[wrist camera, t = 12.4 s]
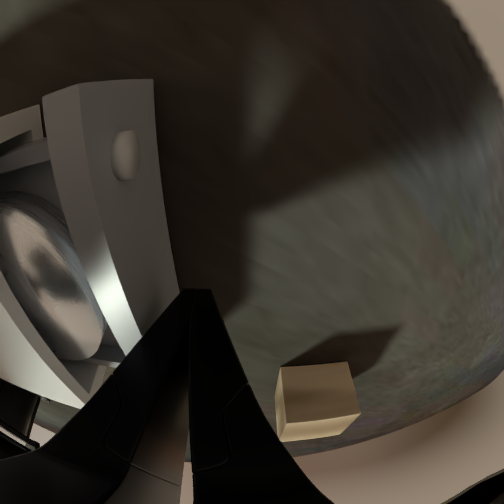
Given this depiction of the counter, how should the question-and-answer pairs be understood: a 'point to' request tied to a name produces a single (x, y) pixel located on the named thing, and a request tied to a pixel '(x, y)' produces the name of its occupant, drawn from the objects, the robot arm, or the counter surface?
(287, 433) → the block
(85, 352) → the disc
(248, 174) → the counter surface
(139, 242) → the tray
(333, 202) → the counter surface
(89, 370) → the panel
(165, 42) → the counter surface
